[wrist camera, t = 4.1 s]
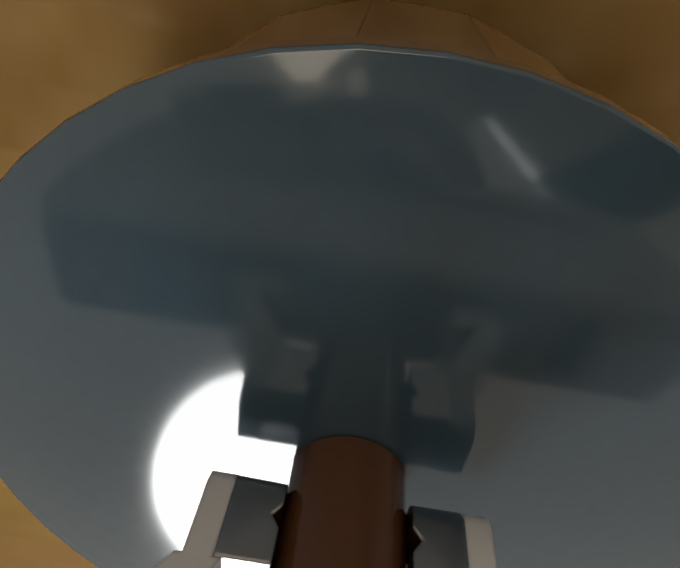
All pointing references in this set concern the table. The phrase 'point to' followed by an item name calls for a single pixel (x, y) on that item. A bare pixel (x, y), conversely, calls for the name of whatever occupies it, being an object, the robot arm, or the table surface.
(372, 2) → the canister
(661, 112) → the table surface
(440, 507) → the lid
